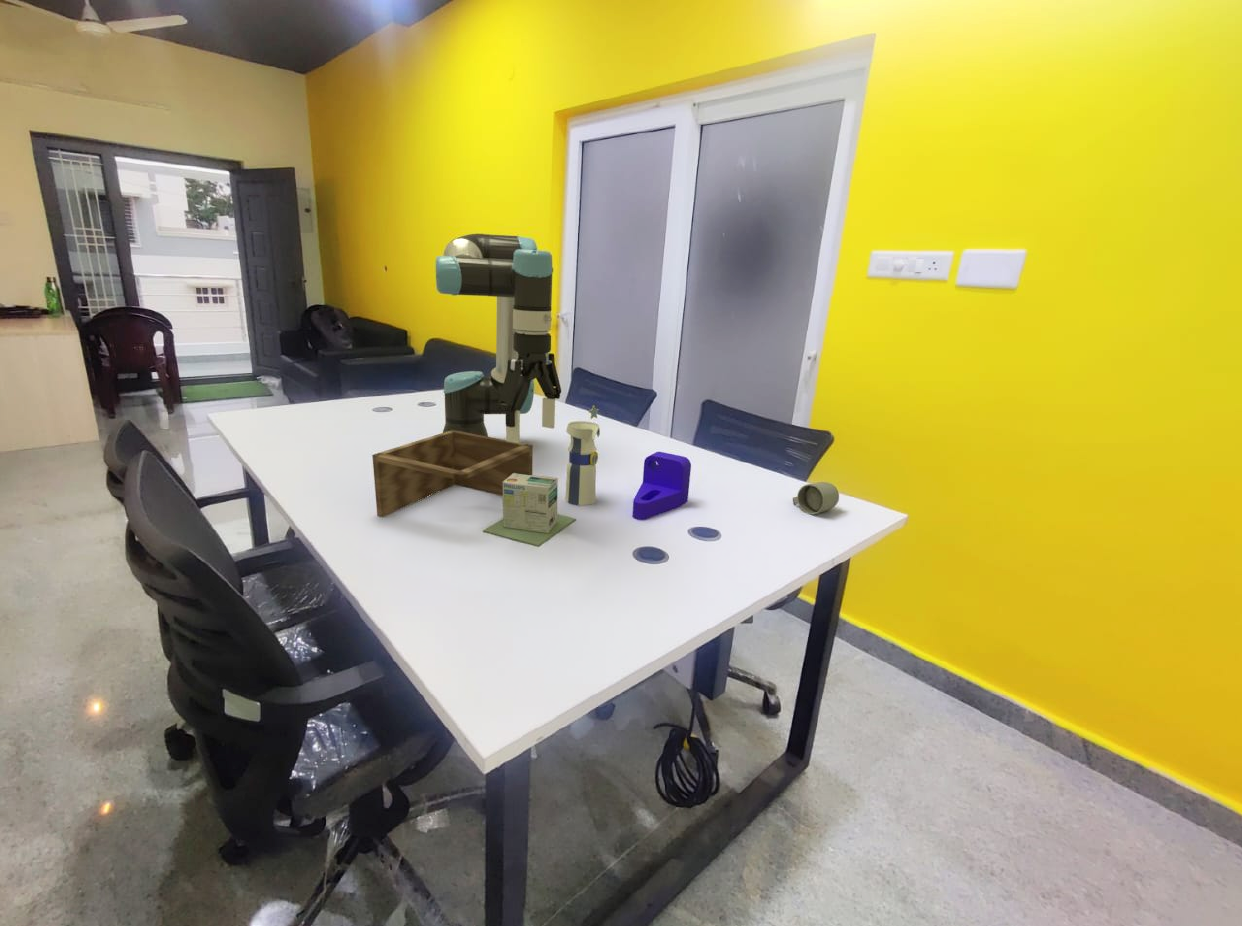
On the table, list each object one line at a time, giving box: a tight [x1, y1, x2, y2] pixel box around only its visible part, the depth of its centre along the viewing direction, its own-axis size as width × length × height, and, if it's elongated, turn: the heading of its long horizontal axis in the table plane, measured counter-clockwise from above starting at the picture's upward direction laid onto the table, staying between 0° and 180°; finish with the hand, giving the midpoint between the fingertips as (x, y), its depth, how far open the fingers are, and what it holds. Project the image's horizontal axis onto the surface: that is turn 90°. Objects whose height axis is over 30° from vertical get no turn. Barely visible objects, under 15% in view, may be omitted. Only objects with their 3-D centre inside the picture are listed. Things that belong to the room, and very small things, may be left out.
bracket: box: [631, 451, 692, 521], centre depth 141 cm, size 18×11×12 cm, turn 151°
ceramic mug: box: [791, 481, 840, 516], centre depth 147 cm, size 11×8×8 cm
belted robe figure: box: [564, 405, 601, 507], centre depth 141 cm, size 8×9×25 cm
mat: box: [482, 513, 577, 548], centre depth 128 cm, size 16×14×1 cm
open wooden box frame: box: [372, 430, 534, 518], centre depth 134 cm, size 26×24×14 cm
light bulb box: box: [502, 473, 559, 533], centre depth 126 cm, size 11×7×11 cm, turn 79°
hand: (531, 434), depth 122 cm, fingers open, 13 cm apart
